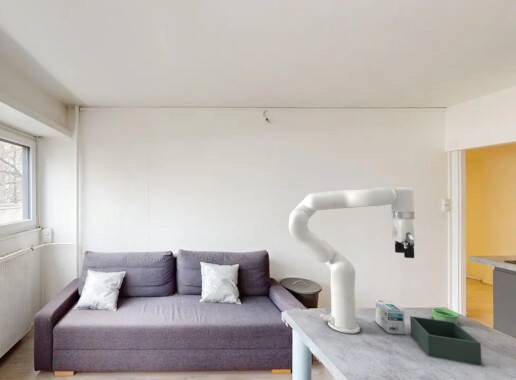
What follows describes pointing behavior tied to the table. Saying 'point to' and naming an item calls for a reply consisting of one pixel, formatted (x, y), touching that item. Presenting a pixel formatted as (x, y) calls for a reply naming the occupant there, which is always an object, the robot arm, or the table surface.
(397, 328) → the light bulb box
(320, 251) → the robot arm
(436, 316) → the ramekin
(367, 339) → the table surface
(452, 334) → the open storage box
